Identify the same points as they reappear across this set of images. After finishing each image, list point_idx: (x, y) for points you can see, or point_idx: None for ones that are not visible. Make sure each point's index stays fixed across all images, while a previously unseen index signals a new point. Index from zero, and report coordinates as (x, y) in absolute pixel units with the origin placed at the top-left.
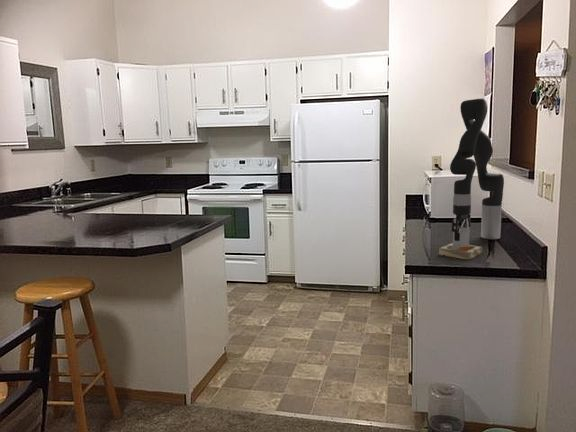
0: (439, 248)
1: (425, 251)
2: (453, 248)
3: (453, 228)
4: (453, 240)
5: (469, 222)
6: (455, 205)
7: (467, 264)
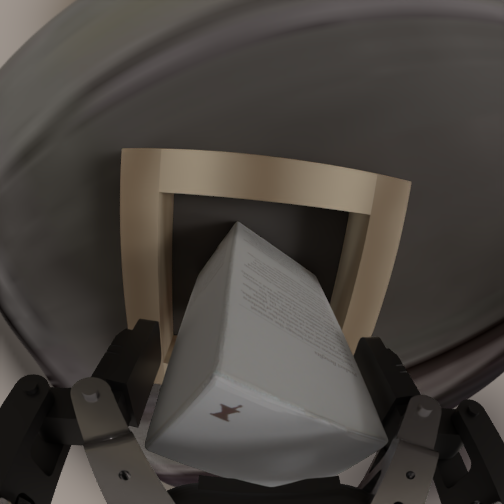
0: (122, 152)
1: (198, 21)
2: (224, 245)
3: (26, 419)
4: (221, 273)
5: (438, 493)
6: None
7: (70, 358)
